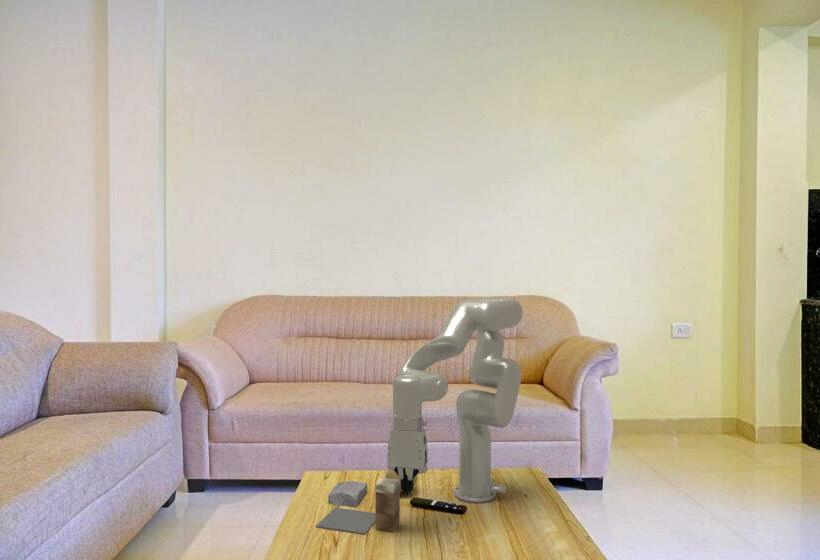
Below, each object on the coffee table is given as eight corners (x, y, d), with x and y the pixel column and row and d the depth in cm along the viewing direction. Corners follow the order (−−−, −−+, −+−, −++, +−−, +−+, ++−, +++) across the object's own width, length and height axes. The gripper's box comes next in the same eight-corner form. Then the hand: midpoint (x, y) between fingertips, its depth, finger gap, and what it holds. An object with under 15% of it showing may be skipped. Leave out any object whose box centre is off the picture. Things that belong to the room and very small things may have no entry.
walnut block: (399, 524, 153) (399, 479, 152) (393, 532, 148) (393, 486, 148) (382, 521, 154) (382, 477, 154) (375, 529, 149) (375, 484, 149)
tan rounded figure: (419, 484, 181) (419, 450, 180) (416, 499, 169) (416, 463, 168) (388, 482, 182) (388, 449, 181) (383, 498, 170) (383, 462, 169)
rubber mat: (381, 515, 158) (381, 513, 158) (365, 534, 146) (365, 533, 146) (335, 508, 162) (335, 507, 162) (315, 527, 151) (315, 525, 151)
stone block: (326, 511, 165) (359, 507, 163) (323, 495, 165) (356, 490, 163) (339, 496, 176) (370, 492, 175) (336, 481, 177) (367, 477, 175)
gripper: (438, 422, 150) (438, 491, 150) (384, 417, 154) (384, 484, 155) (431, 430, 143) (430, 502, 143) (375, 424, 147) (375, 495, 148)
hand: (406, 493), depth 149 cm, fingers closed
